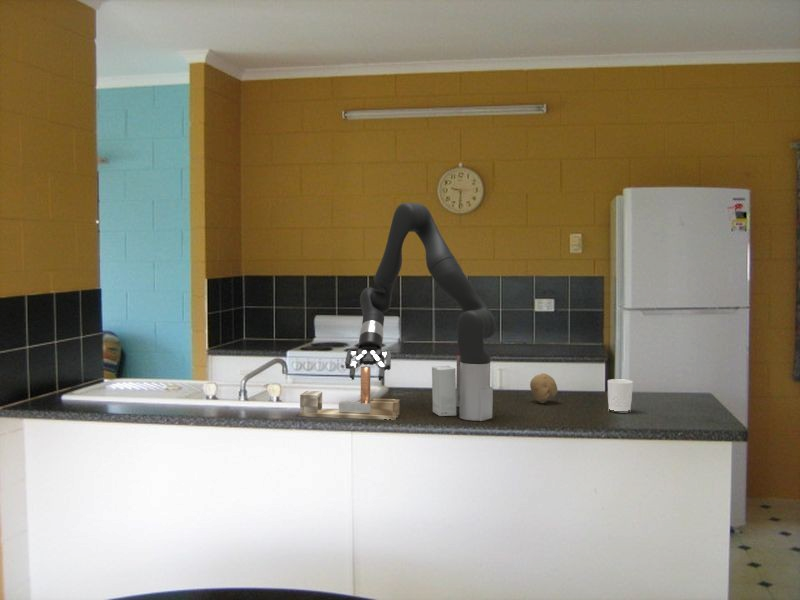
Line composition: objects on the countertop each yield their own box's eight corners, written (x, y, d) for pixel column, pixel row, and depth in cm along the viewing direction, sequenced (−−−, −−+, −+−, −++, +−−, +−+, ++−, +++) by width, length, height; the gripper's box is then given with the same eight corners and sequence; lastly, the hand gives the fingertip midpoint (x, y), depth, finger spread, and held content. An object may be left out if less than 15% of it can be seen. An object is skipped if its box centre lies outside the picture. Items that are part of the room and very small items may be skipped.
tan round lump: (549, 399, 281) (549, 371, 280) (562, 404, 273) (562, 375, 272) (525, 401, 278) (526, 372, 278) (537, 405, 270) (538, 376, 269)
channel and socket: (399, 414, 253) (399, 393, 253) (396, 419, 245) (396, 398, 245) (305, 411, 257) (305, 390, 257) (298, 416, 249) (298, 394, 249)
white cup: (615, 408, 267) (615, 378, 266) (636, 412, 261) (637, 381, 260) (602, 411, 261) (602, 380, 261) (624, 415, 256) (624, 383, 255)
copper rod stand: (391, 412, 251) (392, 367, 250) (390, 414, 248) (390, 368, 247) (340, 410, 253) (341, 365, 252) (338, 412, 250) (339, 367, 249)
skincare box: (456, 416, 252) (457, 368, 251) (438, 416, 250) (438, 369, 250) (449, 410, 260) (449, 364, 259) (430, 411, 259) (431, 365, 258)
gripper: (348, 330, 260) (342, 370, 250) (392, 331, 259) (388, 372, 248) (350, 344, 266) (344, 385, 255) (393, 345, 265) (389, 386, 254)
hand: (366, 378), depth 252 cm, fingers open, 8 cm apart
